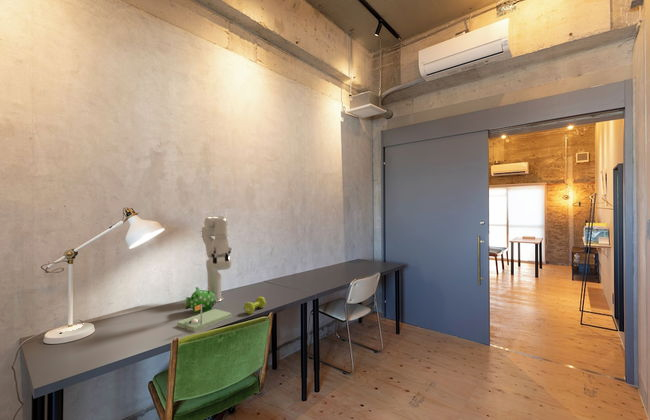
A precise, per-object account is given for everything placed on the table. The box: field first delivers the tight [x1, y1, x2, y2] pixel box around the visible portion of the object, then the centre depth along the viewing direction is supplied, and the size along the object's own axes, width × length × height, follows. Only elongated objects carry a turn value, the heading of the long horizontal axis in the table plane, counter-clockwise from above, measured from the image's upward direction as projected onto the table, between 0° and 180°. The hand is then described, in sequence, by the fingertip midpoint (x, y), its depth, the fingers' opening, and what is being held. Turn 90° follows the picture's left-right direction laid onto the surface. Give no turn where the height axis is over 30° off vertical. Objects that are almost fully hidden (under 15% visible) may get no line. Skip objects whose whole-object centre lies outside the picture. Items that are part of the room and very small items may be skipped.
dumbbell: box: [243, 296, 267, 315], centre depth 198 cm, size 16×8×7 cm, turn 156°
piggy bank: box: [185, 286, 216, 315], centre depth 196 cm, size 14×18×15 cm
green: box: [176, 304, 233, 333], centre depth 178 cm, size 16×26×14 cm, turn 149°
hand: (220, 262), depth 197 cm, fingers open, 9 cm apart
